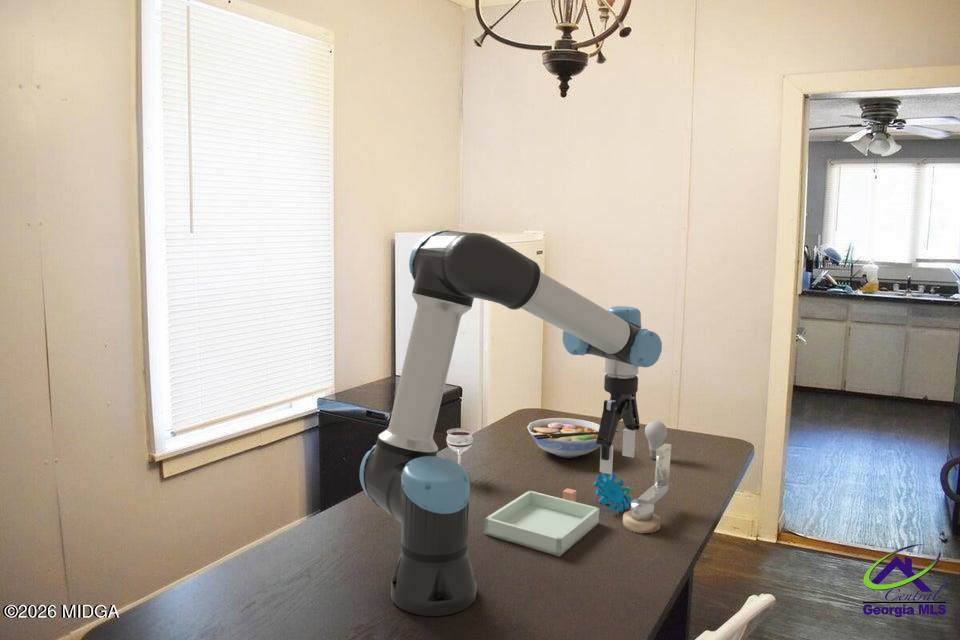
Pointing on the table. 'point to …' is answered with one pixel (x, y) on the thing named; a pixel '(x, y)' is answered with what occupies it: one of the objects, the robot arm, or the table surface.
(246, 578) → the table surface
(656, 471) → the crank
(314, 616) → the table surface
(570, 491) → the post
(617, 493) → the gear
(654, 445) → the lightbulb
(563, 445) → the ramen bowl
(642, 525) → the crank pedestal
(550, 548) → the tray
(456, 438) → the wineglass
